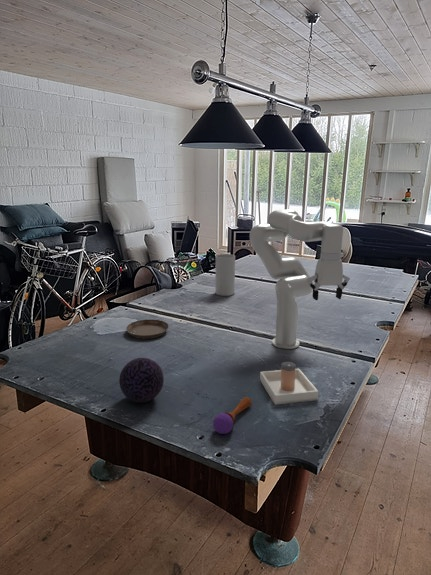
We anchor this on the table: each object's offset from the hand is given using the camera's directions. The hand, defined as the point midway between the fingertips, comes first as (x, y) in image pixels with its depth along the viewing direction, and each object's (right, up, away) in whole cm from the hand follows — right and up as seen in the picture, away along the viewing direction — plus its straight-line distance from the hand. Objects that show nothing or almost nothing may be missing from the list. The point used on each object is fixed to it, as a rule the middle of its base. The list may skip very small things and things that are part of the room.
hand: (326, 298), depth 164 cm
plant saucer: (-78, -18, +40) cm, 89 cm away
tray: (-18, -33, -13) cm, 40 cm away
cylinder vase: (-38, 0, +107) cm, 113 cm away
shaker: (-18, -32, -14) cm, 39 cm away
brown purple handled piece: (-38, -38, -32) cm, 63 cm away
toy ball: (-70, -35, -20) cm, 80 cm away
